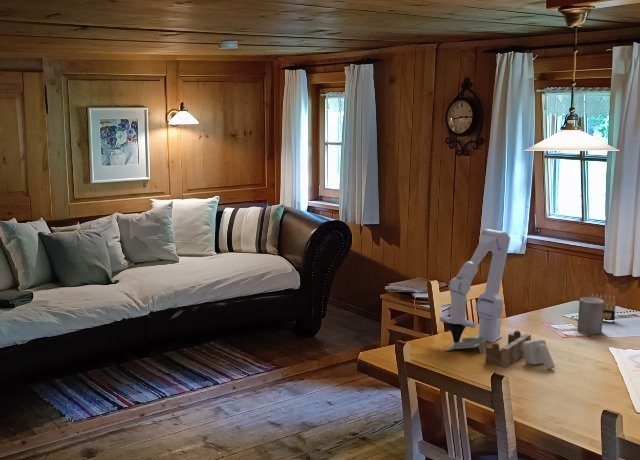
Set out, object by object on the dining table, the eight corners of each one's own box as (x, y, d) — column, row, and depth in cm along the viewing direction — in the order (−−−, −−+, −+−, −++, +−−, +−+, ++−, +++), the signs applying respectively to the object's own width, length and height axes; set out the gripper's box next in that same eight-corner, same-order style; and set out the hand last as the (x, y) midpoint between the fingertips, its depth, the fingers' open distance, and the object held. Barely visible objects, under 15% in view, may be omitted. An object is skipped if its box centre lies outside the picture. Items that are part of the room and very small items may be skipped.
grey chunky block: (545, 371, 265) (542, 343, 266) (525, 369, 274) (522, 341, 275) (562, 368, 269) (559, 340, 269) (541, 366, 278) (539, 339, 279)
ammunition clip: (588, 320, 333) (590, 293, 331) (588, 318, 335) (590, 292, 333) (614, 322, 330) (616, 295, 328) (614, 321, 332) (616, 294, 330)
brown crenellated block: (510, 348, 292) (511, 328, 291) (530, 352, 288) (531, 332, 286) (485, 363, 275) (486, 342, 273) (506, 368, 270) (507, 346, 269)
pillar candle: (581, 326, 323) (583, 292, 320) (604, 330, 317) (607, 296, 315) (574, 332, 315) (576, 297, 313) (598, 336, 310) (600, 301, 307)
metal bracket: (490, 333, 292) (473, 343, 280) (493, 348, 292) (477, 358, 280) (457, 337, 301) (440, 346, 289) (460, 351, 301) (443, 361, 289)
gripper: (436, 307, 292) (434, 341, 295) (470, 314, 284) (469, 348, 286) (445, 303, 298) (443, 337, 300) (479, 310, 289) (477, 344, 292)
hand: (456, 342), depth 293 cm, fingers closed
